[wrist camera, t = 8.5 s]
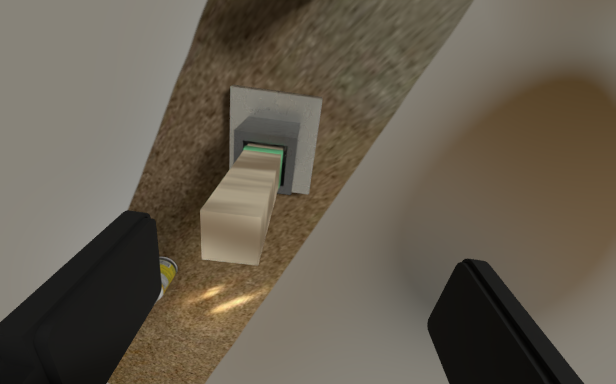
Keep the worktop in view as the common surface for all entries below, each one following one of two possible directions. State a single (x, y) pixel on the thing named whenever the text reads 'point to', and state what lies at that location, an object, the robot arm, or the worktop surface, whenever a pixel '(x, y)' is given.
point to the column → (242, 207)
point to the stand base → (277, 130)
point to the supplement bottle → (166, 273)
